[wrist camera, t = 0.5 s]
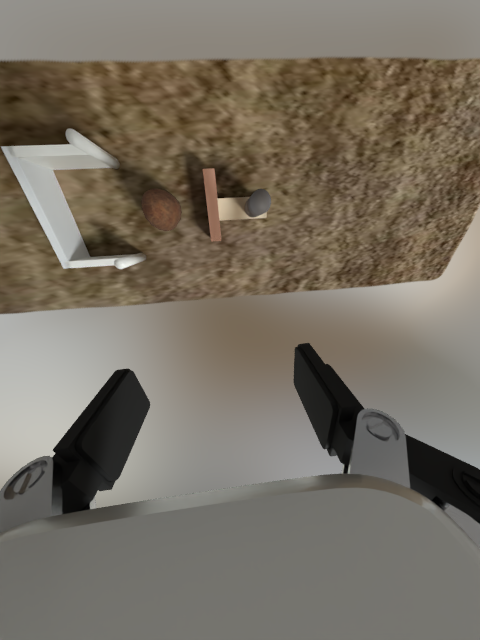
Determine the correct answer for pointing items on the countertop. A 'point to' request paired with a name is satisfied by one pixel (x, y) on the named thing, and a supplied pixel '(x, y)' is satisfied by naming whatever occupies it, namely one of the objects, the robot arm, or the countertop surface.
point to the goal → (50, 202)
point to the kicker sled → (232, 205)
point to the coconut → (161, 209)
